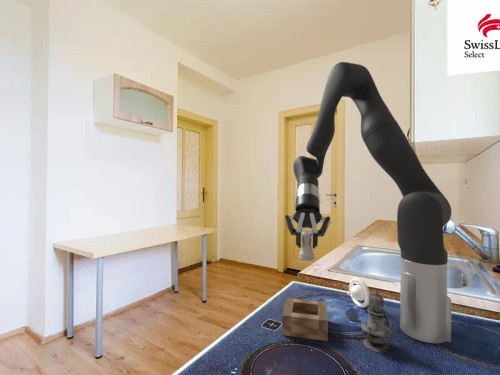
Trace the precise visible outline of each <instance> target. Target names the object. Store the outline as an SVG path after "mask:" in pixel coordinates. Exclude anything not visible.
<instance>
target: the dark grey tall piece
mask: <svg viewBox="0 0 500 375" xmlns="http://www.w3.org/2000/svg"><path fill="white" fill-rule="evenodd" d="M378 292H379V291H378V290H377V289H375V290H374V292H373V293H371V294H370V295H369V304H368V307H367V308H366V311H367V313H368V317H367V318H368V319H367V321H365V322H363V323H362V324H360V328H361V329H362V333H363V336H364V337H365V338H363V339H362V340H361V341H362V342H361V343H362V345H363V346H364V347H365V348H366V349H367V350H369V351H371V352H375V353H379V354H381V353H387V352H389V351H390V346H389V344H388V343H387V342H388V341H389V339H390V335H392V331H391V329H390V328H389V327H388V326H386V325H385V323H384V322H385V321H384V320H385V318H384V317H385V315H386V311H385V310H384V304H385V302H384V300H385V299H384V297H383V296H382V295H381V294H379V293H378Z"/></svg>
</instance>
